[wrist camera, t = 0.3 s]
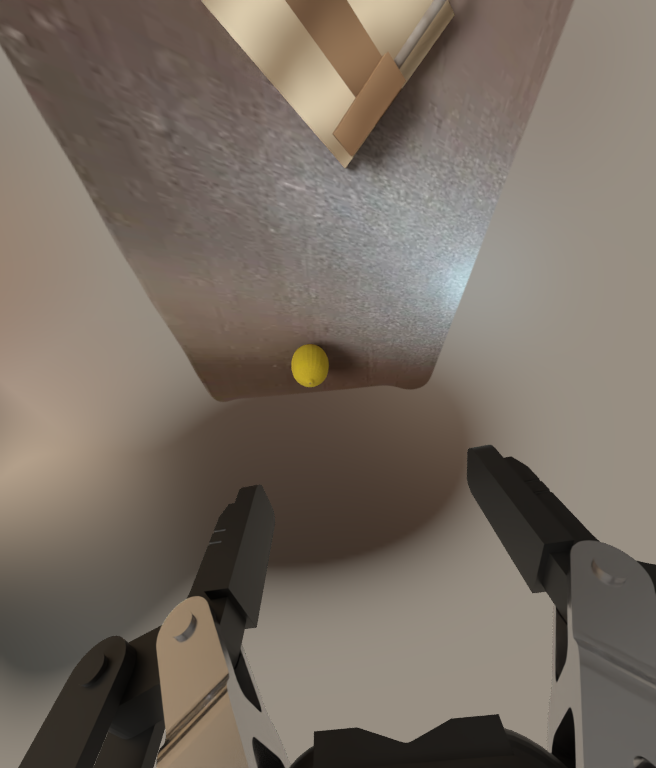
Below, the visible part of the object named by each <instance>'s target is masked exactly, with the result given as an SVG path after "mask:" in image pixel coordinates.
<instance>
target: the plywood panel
mask: <svg viewBox="0 0 656 768" xmlns="http://www.w3.org/2000/svg"><path fill="white" fill-rule="evenodd" d="M201 1H202V2H203V3H204V5H205V6H206V7H207V8H208V9H209V10H210V12H211V13H212V14H213V15H214V16H215V17H216V19H217V20H218V21H219V22H220V23H221V24H222V26H223V27H224V28H225V29H226V30H227V31H228V33H229V34H230V35H231V36H232V37H233V38H234V40H235V41H236V42H237V43H238V44H239V45H240V47H241V48H242V49H243V50H244V51H245V52H246V54H247V55H248V56H249V57H250V58H251V59H252V61H253V62H254V63H255V64H256V65H257V66H258V67H259V69H260V70H261V71H262V72H263V73H264V74H265V76H266V77H267V78H268V79H269V80H270V81H271V83H272V84H273V85H274V86H275V87H276V88H277V90H278V91H279V92H280V93H281V94H282V95H283V97H284V98H285V99H286V100H287V101H288V102H289V104H290V105H291V106H292V107H293V108H294V109H295V111H296V112H297V113H298V114H299V115H300V116H301V118H302V119H303V120H304V121H305V122H306V123H307V125H308V126H309V127H310V128H311V129H312V130H313V132H314V133H315V134H316V135H317V136H318V137H319V139H320V140H321V141H322V142H323V143H324V144H325V146H326V147H327V148H328V149H329V150H330V151H331V153H332V154H333V155H334V156H335V157H336V158H337V160H338V161H339V162H340V163H341V164H342V165H343V167H344V168H346V167H347V165H348V164H349V162H350V161H351V160H352V158H353V157H354V155H355V154H356V153H357V151H358V150H359V148H360V147H361V146H362V144H363V143H364V141H365V140H366V138H367V137H368V136H369V134H370V133H371V131H372V130H373V129H374V127H375V126H376V124H377V123H378V122H379V120H380V119H381V117H382V116H383V115H384V113H385V112H386V110H387V109H388V108H389V106H390V105H391V103H392V102H393V101H394V99H395V98H396V96H397V95H398V94H399V92H400V91H401V89H402V88H403V87H404V85H405V84H406V82H407V81H408V80H409V78H410V77H411V75H412V74H413V72H414V71H415V70H416V68H417V67H418V65H419V64H420V63H421V61H422V60H423V58H424V57H425V56H426V54H427V53H428V51H429V50H430V49H431V47H432V46H433V44H434V43H435V42H436V40H437V39H438V37H439V36H440V35H441V33H442V32H443V30H444V29H445V28H446V26H447V25H448V23H449V22H450V21H451V19H452V18H453V16H454V15H455V14H454V12H453V10H452V8H451V5H450V3H449V1H448V0H447V1H446V2H445V3H444V5H443V6H442V8H441V9H440V11H439V12H438V14H437V15H436V17H435V18H434V19H433V21H432V22H431V24H430V25H429V27H428V28H427V30H426V31H425V33H424V34H423V36H422V37H421V38H420V40H419V41H418V43H417V44H416V46H415V47H414V49H413V50H412V52H411V53H410V54H409V56H408V57H407V59H406V60H405V62H404V63H403V65H402V66H401V68H400V69H399V70H400V72H401V73H402V75H403V77H404V78H405V80H406V82H405V83H404V85H403V86H402V87H401V89H400V90H399V92H398V93H397V94H396V96H395V97H394V99H393V100H392V101H391V103H390V104H389V106H388V107H387V109H386V110H385V111H384V113H383V114H382V116H381V117H380V118H379V120H378V121H377V123H376V124H375V125H374V127H373V128H372V130H371V131H370V132H369V134H368V135H367V137H366V138H365V140H364V141H363V142H362V144H361V145H360V147H359V148H358V149H357V151H356V152H355V154H354V155H353V156H350V155H349V154H348V153H347V151H346V150H345V149H344V148H343V146H342V145H341V144H340V143H339V142H338V140H337V139H336V138H335V137H334V136H333V132H334V130H335V129H336V127H337V126H338V124H339V123H340V121H341V120H342V118H343V116H344V115H345V113H346V112H347V110H348V109H349V107H350V106H351V104H352V103H353V101H354V99H355V98H356V96H357V95H358V93H359V92H360V90H361V89H362V87H363V85H364V84H365V82H366V81H367V79H368V78H369V76H370V75H371V73H372V71H373V70H374V68H375V67H376V65H377V64H378V62H379V61H380V59H381V57H382V56H383V55H384V54H386V53H387V52H389V54H390V55H391V57H392V59H393V60H394V59H395V57H396V56H397V54H398V53H399V51H400V50H401V48H402V47H403V45H404V44H405V42H406V41H407V39H408V38H409V36H410V35H411V33H412V32H413V30H414V29H415V27H416V26H417V24H418V23H419V21H420V20H421V18H422V17H423V15H424V14H425V12H426V11H427V9H428V8H429V6H430V5H431V3H432V2H433V0H201Z"/></svg>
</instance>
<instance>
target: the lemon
mask: <svg viewBox="0 0 656 768" xmlns="http://www.w3.org/2000/svg"><path fill="white" fill-rule="evenodd" d="M328 368H329V363H328V358H327V355H326V353H325V352H324V351H323V349H322V348H320V347H319V346H317V345H313V344H307V345H303V346H301V347H300V348H298V349H297V350H296V352H295V353H294V355H293V358H292V372H293V375H294V378H295V379H296V380H297V382H298V383H300V384H301V385H303V386H306V387H314V386H317V385H319V384H321V383H322V382H323V381H324V380H325V378H326V376H327V373H328Z"/></svg>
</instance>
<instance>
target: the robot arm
mask: <svg viewBox="0 0 656 768" xmlns="http://www.w3.org/2000/svg"><path fill="white" fill-rule="evenodd" d="M467 455H468V456H467V481H468V485H469V488H470V490H471V493H472V495H473V496H474V498H475V500H476V501H477V503H478V504H479V506H480V508H481V509H482V511H483V513H484V514H485V516H486V518H487V519H488V521H489V522H490V524H491V526H492V527H493V529H494V531H495V532H496V534H497V536H498V537H499V539H500V540H501V542H502V544H503V546H504V547H505V549H506V551H507V552H508V554H509V555H510V557H511V559H512V560H513V562H514V564H515V565H516V567H517V568H518V570H519V572H520V574H521V575H522V577H523V578H524V580H525V582H526V583H527V585H528V586H529V588H530V590H531V591H532V593H539V592H547V594H548V595H549V597H550V598H551V600H552V601H553V603H554V607H553V650H552V687H551V696H550V702H549V712H548V732H547V733H548V734H547V750H545V749H544V748H543V747H541V746H540V745H538V744H537V743H535V742H533V741H532V740H530V739H528V738H527V737H525V736H523V735H520V734H518V733H516V732H514V731H512V730H508V729H505V728H504V727H503V725H502V722H501V720H500V717H499V714H496V715H486V716H475V717H464V718H454V719H450V720H448V721H446V722H445V723H443V724H441V725H440V726H438V727H436V728H434V729H433V730H431V731H429V732H427V733H426V734H424V735H422V736H420V737H419V738H417V739H415V740H413V741H411V742H409V743H403V742H399V741H397V740H393V739H391V738H388V737H385V736H382V735H379V734H376V733H372V732H369V731H366V730H363V729H360V728H347V729H337V730H326V731H316V732H314V746H313V747H311V748H309V749H308V750H307V751H306V752H304V753H303V754H302V755H300V756H299V757H298V758H297V759H296V760H295V762H294V763H293V764H292V765H290V762H289V760H288V757H287V754H286V752H285V749H284V747H283V744H282V742H281V739H280V737H279V735H278V733H277V731H276V729H275V727H274V725H273V723H272V722H271V720H270V718H269V716H268V713H267V711H266V709H265V706H264V703H263V701H262V697H261V695H260V692H259V689H258V686H257V684H256V681H255V678H254V675H253V673H252V670H251V667H250V664H249V662H248V659H247V657H246V653H245V651H244V648H243V646H242V639H243V634H244V629H248V628H256V627H257V622H258V616H259V610H260V605H261V599H262V593H263V588H264V583H265V577H266V571H267V566H268V560H269V554H270V549H271V543H272V537H273V531H274V526H275V516H274V511H273V508H272V506H271V504H270V502H269V499H268V497H267V495H266V493H265V491H264V489H263V487H262V485H254V486H249V487H243V488H241V489H240V490H239V493H238V495H237V498H236V501H235V503H233V504H229V505H228V506H227V507H226V509H225V510H224V511H223V513H222V514H221V515H220V517H219V519H218V522H217V524H216V527H215V529H214V534H212V537H211V540H210V544H209V546H208V547H207V550H206V552H205V555H204V557H203V560H202V563H201V565H200V568H199V570H198V573H197V575H196V578H195V581H194V583H193V586H192V589H191V591H190V593H189V595H188V597H187V599H186V600H184V601H182V602H181V603H180V604H179V605H177V606H176V607H175V608H174V609H173V610H172V611H171V612H170V614H169V615H168V616H167V618H166V619H165V621H164V622H163V624H162V625H161V626H159V627H158V628H156V629H154V630H152V631H150V632H148V633H146V634H144V635H142V636H140V637H138V638H136V639H134V640H133V641H131V642H129V643H128V642H127V641H126V640H124V639H123V638H122V637H120V636H112V637H109V638H106V639H104V640H103V641H101V642H100V643H98V644H97V645H95V646H94V647H93V648H92V649H91V650H90V651H89V652H88V653H87V654H86V655H85V656H84V657H83V658H82V659H81V661H80V662H79V663H78V664H77V666H76V667H75V668H74V670H73V671H72V673H71V675H70V677H69V678H68V680H67V682H66V683H65V685H64V687H63V689H62V691H61V692H60V694H59V696H58V698H57V700H56V701H55V703H54V705H53V707H52V709H51V711H50V712H49V714H48V716H47V718H46V719H45V721H44V723H43V725H42V726H41V728H40V730H39V732H38V733H37V735H36V737H35V739H34V741H33V742H32V744H31V746H30V748H29V750H28V751H27V753H26V755H25V757H24V759H23V760H22V762H21V764H20V766H19V767H18V768H153V767H154V763H155V760H156V757H157V762H156V768H656V565H655V564H649V563H644V562H640V561H636V560H634V559H633V558H632V557H630V556H629V555H628V554H626V553H624V552H623V551H621V550H619V549H617V548H615V547H613V546H611V545H608V544H606V543H602V542H600V541H599V540H597V539H596V538H595V537H594V536H593V535H592V534H591V533H590V532H589V531H588V530H587V529H586V528H585V527H584V526H583V524H582V523H581V522H580V521H579V520H578V519H577V518H576V517H575V516H574V515H573V514H572V513H571V512H570V511H569V510H568V509H567V508H566V506H565V505H564V504H563V503H562V502H561V501H560V500H559V499H558V498H557V497H556V496H555V495H554V494H553V493H552V492H550V491H549V488H547V487H546V485H545V484H544V483H543V482H542V481H540V480H539V478H538V477H537V476H536V475H535V474H534V473H533V472H532V471H531V469H530V468H529V467H528V466H526V465H524V464H523V463H521V462H520V461H518V460H516V459H514V458H513V457H506V458H503V457H502V456H501V454H499V452H498V451H497V450H496V449H495V448H494V447H493V446H492V445H485V446H480V447H474V448H469V449H468V452H467ZM165 729H166V739H165V743H164V745H163V746H162V747H161V748H160V750H159V746H160V743H161V740H162V736H163V733H164V730H165ZM107 733H108V734H107ZM106 735H107V736H106ZM104 740H105V741H104ZM103 742H104V743H103ZM102 745H103V746H102ZM101 747H102V748H101ZM158 750H159V752H158ZM99 752H100V753H99ZM157 753H158V755H157ZM98 754H99V755H98ZM97 757H98V758H97ZM96 759H97V760H96ZM95 762H96V763H95ZM94 764H95V765H94ZM93 766H94V767H93Z"/></svg>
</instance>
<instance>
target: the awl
mask: <svg viewBox="0 0 656 768" xmlns="http://www.w3.org/2000/svg"><path fill="white" fill-rule="evenodd" d="M446 1H447V0H433V2H432V3H431V5H430V6H429V8H428V9H427V11H426V12H425V14H424V15H423V17H422V18H421V20H420V21H419V23H418V24H417V26H416V27H415V29H414V30H413V32H412V33H411V35H410V36H409V38H408V39H407V41H406V42H405V44H404V45H403V47H402V48H401V50H400V51H399V53H398V54H397V56H396V57H395V59H394V60H393V59H392V57H391V55H390V54H389V52H387V53H386V54H384V55H383V56H382V57H381V59H380V61H379V62H378V64H377V65H376V67H375V68H374V70H373V71H372V73H371V75H370V76H369V78H368V79H367V81H366V82H365V84H364V85H363V87H362V89H361V90H360V92H359V93H358V95H357V96H356V98H355V99H354V101H353V103H352V104H351V106H350V107H349V109H348V110H347V112H346V113H345V115H344V116H343V118H342V120H341V121H340V123H339V124H338V126H337V127H336V129H335V130H334V132H333V136H334V137H335V138H336V139H337V140H338V142H339V143H340V144H341V145H342V146H343V148H344V149H345V150H346V151H347V153H348V154H349V155H350V156H353V155H354V154H355V152H356V151H357V149H358V148H359V147H360V145H361V144H362V142H363V141H364V140H365V138H366V137H367V135H368V134H369V132H370V131H371V130H372V128H373V127H374V125H375V124H376V123H377V121H378V120H379V118H380V117H381V116H382V114H383V113H384V111H385V110H386V109H387V107H388V106H389V104H390V103H391V101H392V100H393V99H394V97H395V96H396V94H397V93H398V92H399V90H400V89H401V87H402V86H403V85H404V83H405V82H406V80H405V78H404V77H403V75H402V73H401V72H400V70H399V69H400V68H401V66H402V65H403V63H404V62H405V60H406V59H407V57H408V56H409V54H410V53H411V52H412V50H413V49H414V47H415V46H416V44H417V43H418V41H419V40H420V38H421V37H422V36H423V34H424V33H425V31H426V30H427V28H428V27H429V25H430V24H431V22H432V21H433V19H434V18H435V17H436V15H437V14H438V12H439V11H440V9H441V8H442V6H443V5H444V3H445V2H446Z"/></svg>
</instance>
